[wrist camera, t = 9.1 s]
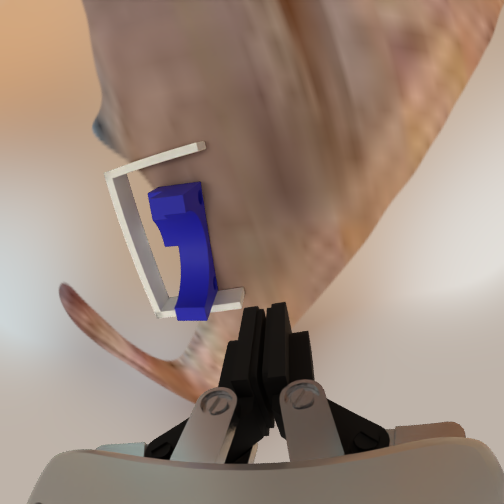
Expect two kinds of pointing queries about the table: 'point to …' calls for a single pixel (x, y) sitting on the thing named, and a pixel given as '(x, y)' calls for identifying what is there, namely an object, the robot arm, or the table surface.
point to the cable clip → (187, 246)
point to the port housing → (139, 242)
